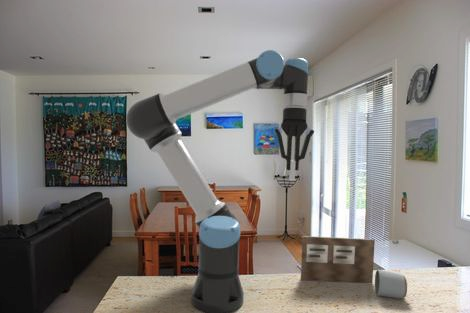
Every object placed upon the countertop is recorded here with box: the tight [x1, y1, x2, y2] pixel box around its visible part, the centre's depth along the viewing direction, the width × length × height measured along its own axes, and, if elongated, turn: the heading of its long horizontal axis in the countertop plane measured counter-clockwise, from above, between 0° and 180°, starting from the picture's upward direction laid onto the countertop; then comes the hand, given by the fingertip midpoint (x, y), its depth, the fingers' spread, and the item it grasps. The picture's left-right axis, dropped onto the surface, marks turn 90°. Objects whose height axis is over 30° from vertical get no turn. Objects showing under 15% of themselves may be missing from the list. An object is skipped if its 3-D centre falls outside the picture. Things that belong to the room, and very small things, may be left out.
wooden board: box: [300, 235, 376, 285], centre depth 107 cm, size 24×1×15 cm, turn 88°
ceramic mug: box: [374, 269, 408, 299], centre depth 100 cm, size 11×8×8 cm
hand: (291, 180), depth 104 cm, fingers closed
